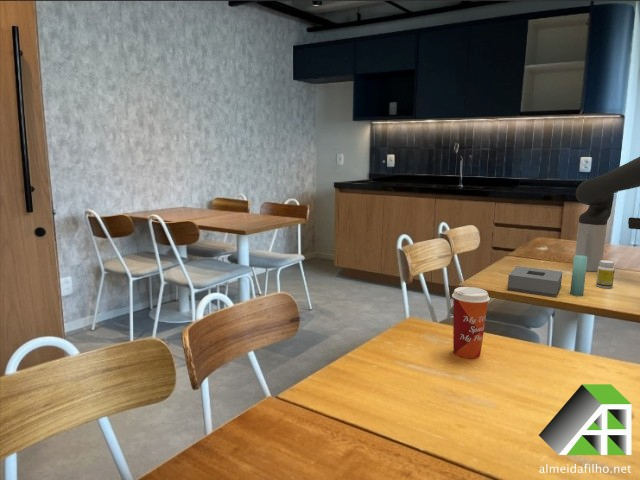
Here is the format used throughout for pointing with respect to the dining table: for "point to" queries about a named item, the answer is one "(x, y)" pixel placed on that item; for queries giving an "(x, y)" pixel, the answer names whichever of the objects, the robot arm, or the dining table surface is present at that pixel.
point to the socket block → (535, 281)
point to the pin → (578, 275)
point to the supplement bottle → (605, 274)
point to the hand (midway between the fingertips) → (628, 222)
